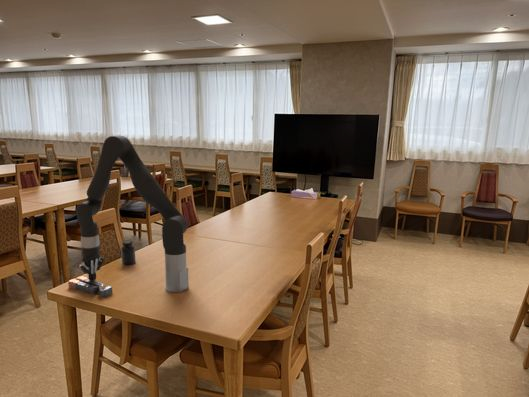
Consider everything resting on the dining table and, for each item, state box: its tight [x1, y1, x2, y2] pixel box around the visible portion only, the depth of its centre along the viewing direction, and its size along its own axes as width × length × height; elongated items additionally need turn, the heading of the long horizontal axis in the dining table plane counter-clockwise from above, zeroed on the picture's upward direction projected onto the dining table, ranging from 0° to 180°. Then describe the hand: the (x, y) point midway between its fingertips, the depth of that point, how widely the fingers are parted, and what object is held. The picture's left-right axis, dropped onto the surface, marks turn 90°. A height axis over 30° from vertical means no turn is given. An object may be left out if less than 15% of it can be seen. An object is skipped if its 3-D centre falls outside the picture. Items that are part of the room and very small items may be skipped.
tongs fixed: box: [67, 278, 113, 298], centre depth 163 cm, size 21×5×4 cm, turn 63°
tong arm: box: [75, 275, 103, 293], centre depth 167 cm, size 16×3×3 cm, turn 61°
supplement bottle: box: [120, 239, 136, 266], centre depth 196 cm, size 7×7×12 cm
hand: (92, 280), depth 171 cm, fingers closed
